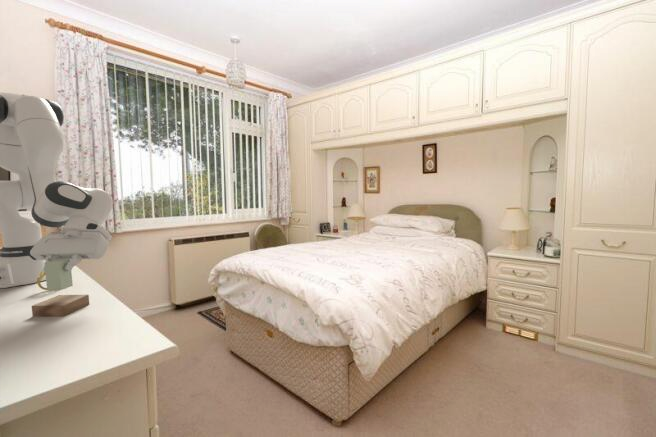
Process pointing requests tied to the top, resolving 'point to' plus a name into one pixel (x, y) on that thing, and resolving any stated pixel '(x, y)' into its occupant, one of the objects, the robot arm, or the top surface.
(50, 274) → the block
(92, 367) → the top surface
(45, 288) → the ring
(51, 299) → the plinth
